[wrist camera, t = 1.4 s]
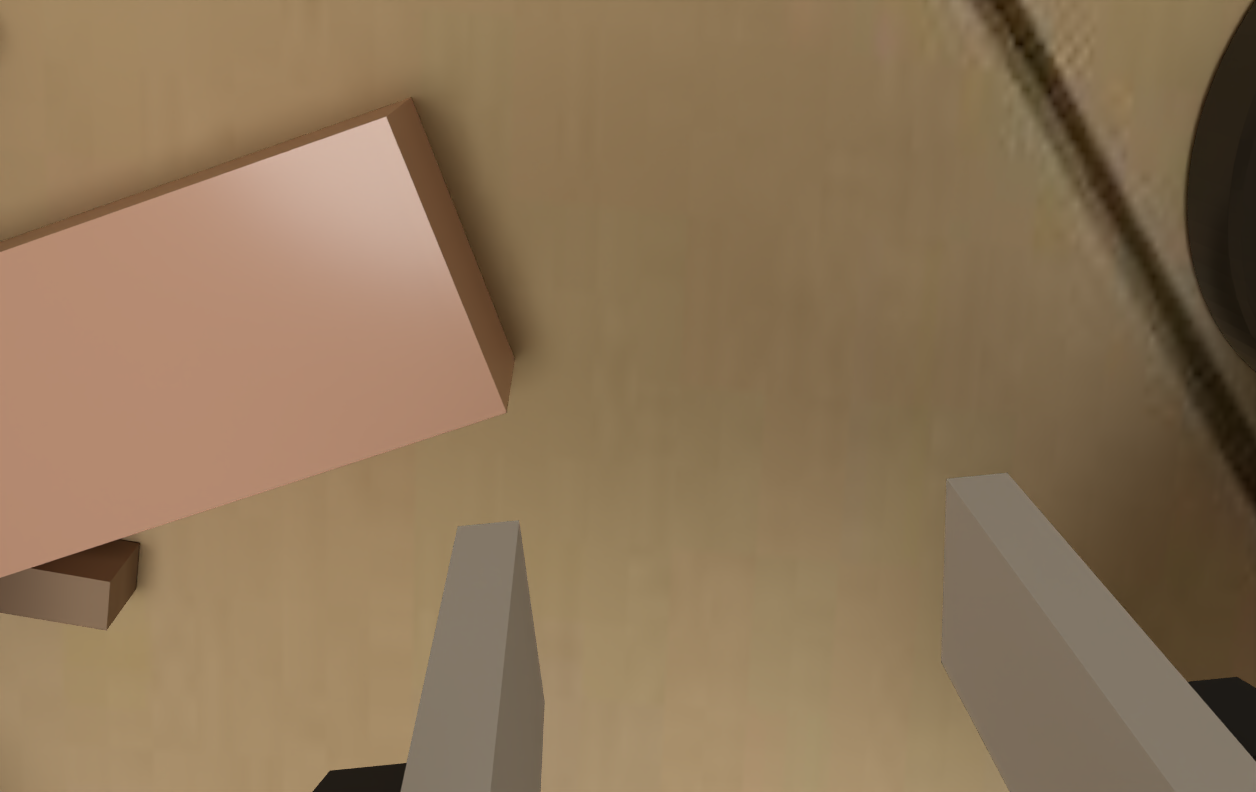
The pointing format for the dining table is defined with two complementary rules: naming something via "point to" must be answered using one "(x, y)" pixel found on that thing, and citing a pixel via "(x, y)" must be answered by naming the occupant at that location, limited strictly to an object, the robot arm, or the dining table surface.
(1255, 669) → the dining table surface
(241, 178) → the pink foam brick
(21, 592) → the shelf
